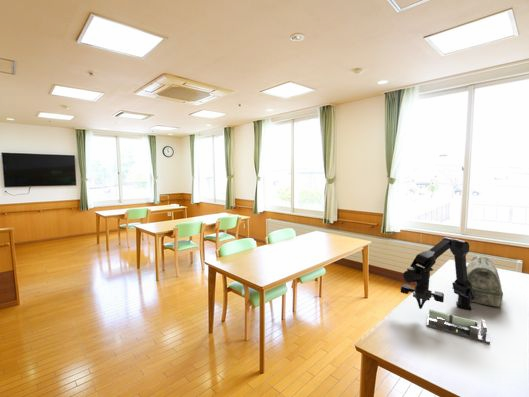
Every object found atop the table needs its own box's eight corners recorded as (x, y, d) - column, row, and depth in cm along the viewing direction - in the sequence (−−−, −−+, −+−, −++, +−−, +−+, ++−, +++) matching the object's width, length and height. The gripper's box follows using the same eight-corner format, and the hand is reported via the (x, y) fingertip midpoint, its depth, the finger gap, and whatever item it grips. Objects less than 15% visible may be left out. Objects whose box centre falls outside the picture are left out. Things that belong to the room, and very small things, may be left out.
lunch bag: (462, 284, 179) (465, 252, 176) (498, 292, 168) (502, 258, 165) (460, 300, 158) (464, 264, 155) (502, 310, 147) (506, 272, 144)
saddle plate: (428, 314, 143) (428, 304, 142) (486, 330, 129) (487, 318, 129) (426, 326, 133) (427, 314, 132) (489, 344, 120) (491, 331, 119)
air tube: (429, 315, 139) (429, 307, 138) (473, 326, 129) (474, 318, 128) (428, 319, 136) (429, 311, 135) (473, 331, 126) (474, 323, 125)
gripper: (400, 280, 135) (398, 310, 137) (444, 290, 125) (441, 321, 127) (402, 273, 145) (401, 300, 147) (444, 281, 134) (442, 311, 136)
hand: (420, 308), depth 139 cm, fingers closed
